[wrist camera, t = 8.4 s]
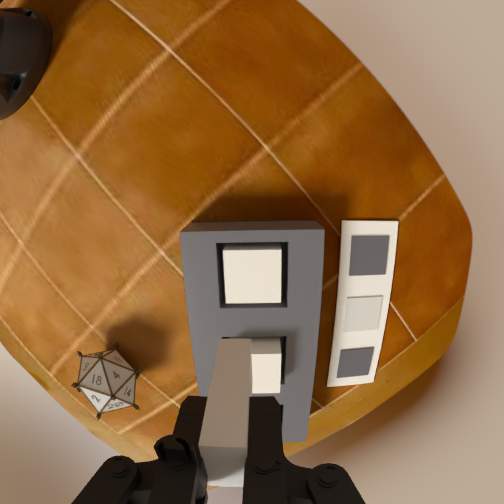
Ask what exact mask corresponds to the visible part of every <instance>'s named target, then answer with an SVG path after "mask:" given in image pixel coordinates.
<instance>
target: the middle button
mask: <svg viewBox="0 0 504 504" xmlns="http://www.w3.org/2000/svg"><path fill="white" fill-rule="evenodd" d="M229 339H251V355H252V381H253V383H252V393H280V380H281V346H280V336H274V337H230V338H229Z"/></svg>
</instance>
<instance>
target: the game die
mask: <svg viewBox="0 0 504 504" xmlns="http://www.w3.org/2000/svg"><path fill="white" fill-rule="evenodd" d="M118 347H119V346H118V343H116V344H115V346H114V349H112V350H107V351H103V352H98V353H93V354H88V355H84V356H83V355H82V353H81V352H79V351H77V353H78V355H79V357H81V362H80V369H79V375H78V382H77V383H73V384H72V385H71V386H73V387H74V388H75V387H79V388H77V390H76V391H78V392H80V391H82V393H83V394H84V395H85V397H86V398H87V399H88V401H89V402H90V403H91V404H92V406H93V407H94V408H95V410H96V411H97V412H98V414H97V416H96V417H97V419H98V420H99V419H100V417H101V414H102V413H106V412H110V411H114V410H118V409H122V408H126V407H130V406H134V408H135V409H137V410H140V409H139V406H137V405H136V404H135V386H136V379H137V378H138V375H136V373H140V372H141V371H142V369H139V368H138V369H136V370H135V369H134V368H133V367H132V366H131V365H130V364H129V363H128V362H127V361H126V360H125V359H124V358H123V356H122V355H121V354H120V353H119V352H118V351H117V349H118Z"/></svg>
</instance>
